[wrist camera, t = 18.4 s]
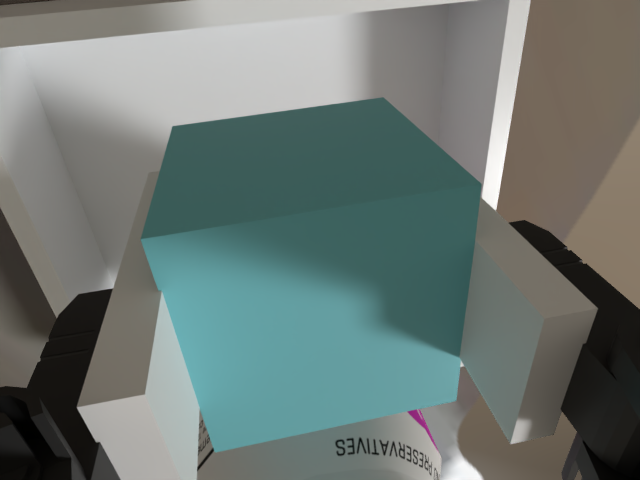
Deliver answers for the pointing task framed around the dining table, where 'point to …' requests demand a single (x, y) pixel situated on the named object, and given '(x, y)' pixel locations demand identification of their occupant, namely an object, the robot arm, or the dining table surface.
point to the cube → (312, 267)
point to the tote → (220, 98)
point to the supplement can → (331, 453)
